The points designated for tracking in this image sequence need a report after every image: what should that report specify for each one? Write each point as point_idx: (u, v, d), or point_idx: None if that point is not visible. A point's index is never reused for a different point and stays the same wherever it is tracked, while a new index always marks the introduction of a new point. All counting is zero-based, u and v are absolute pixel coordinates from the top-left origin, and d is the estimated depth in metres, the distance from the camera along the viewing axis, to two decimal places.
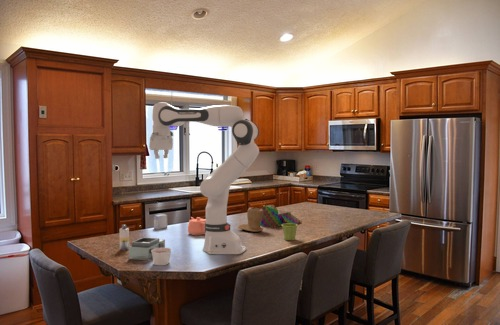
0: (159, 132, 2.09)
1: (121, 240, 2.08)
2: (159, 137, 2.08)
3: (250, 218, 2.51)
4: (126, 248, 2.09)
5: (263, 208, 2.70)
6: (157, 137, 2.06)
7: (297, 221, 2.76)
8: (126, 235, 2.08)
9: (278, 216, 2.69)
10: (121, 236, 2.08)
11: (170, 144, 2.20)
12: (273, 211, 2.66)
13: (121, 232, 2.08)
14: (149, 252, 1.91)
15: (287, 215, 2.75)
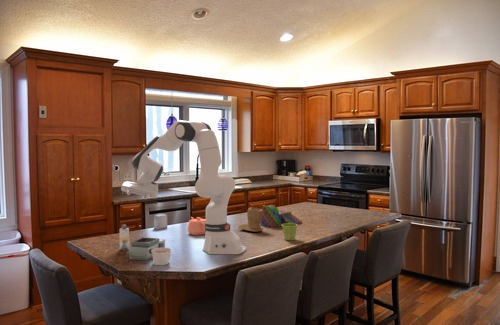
0: None
1: (121, 240, 2.08)
2: (132, 182, 2.26)
3: (250, 218, 2.51)
4: (126, 248, 2.09)
5: (264, 208, 2.70)
6: (128, 181, 2.26)
7: (298, 221, 2.76)
8: (126, 235, 2.08)
9: (279, 216, 2.69)
10: (121, 236, 2.08)
11: (153, 190, 2.24)
12: (273, 211, 2.66)
13: (121, 232, 2.08)
14: (149, 252, 1.91)
15: (288, 215, 2.75)
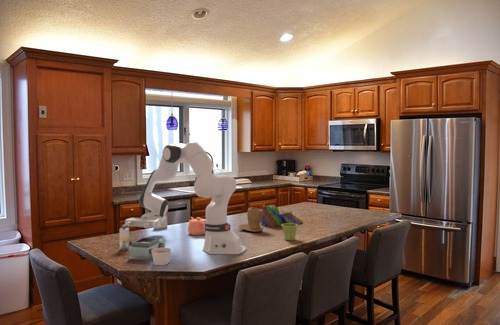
0: None
1: (121, 240, 2.08)
2: (137, 218, 2.34)
3: (250, 218, 2.51)
4: (126, 248, 2.09)
5: (264, 208, 2.69)
6: None
7: (298, 221, 2.76)
8: (126, 235, 2.08)
9: (280, 216, 2.69)
10: (121, 236, 2.08)
11: (154, 220, 2.27)
12: (274, 211, 2.65)
13: (121, 232, 2.08)
14: (149, 252, 1.91)
15: (288, 215, 2.74)
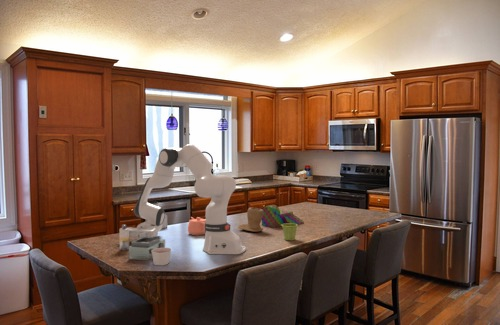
0: None
1: (121, 240, 2.08)
2: None
3: (250, 218, 2.51)
4: (126, 248, 2.09)
5: (265, 208, 2.69)
6: None
7: (299, 221, 2.75)
8: (126, 235, 2.08)
9: (280, 216, 2.69)
10: (121, 236, 2.08)
11: (150, 229, 2.22)
12: (274, 211, 2.65)
13: (121, 232, 2.08)
14: (149, 252, 1.91)
15: (289, 215, 2.74)
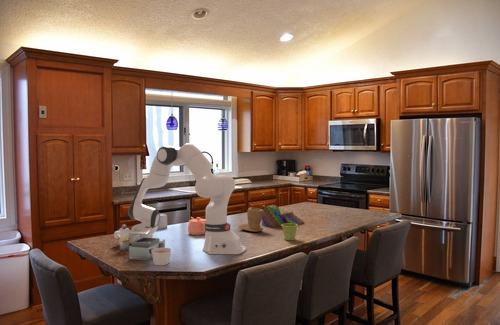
0: None
1: (121, 240, 2.08)
2: None
3: (250, 218, 2.51)
4: (126, 248, 2.09)
5: (265, 208, 2.69)
6: None
7: (300, 221, 2.75)
8: (126, 235, 2.08)
9: (281, 216, 2.69)
10: (121, 236, 2.08)
11: (144, 232, 2.16)
12: (275, 211, 2.65)
13: (121, 232, 2.08)
14: (149, 252, 1.91)
15: (290, 215, 2.74)
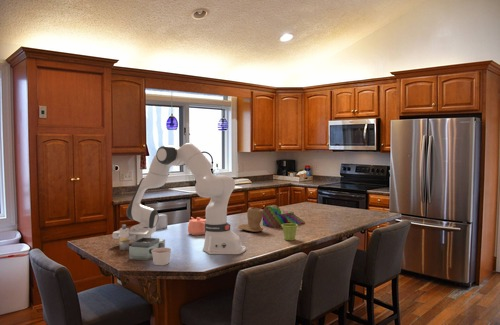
0: None
1: (121, 240, 2.08)
2: None
3: (250, 218, 2.51)
4: (126, 248, 2.09)
5: (266, 208, 2.69)
6: None
7: (300, 221, 2.75)
8: (126, 235, 2.08)
9: (281, 216, 2.68)
10: (121, 236, 2.08)
11: (143, 232, 2.15)
12: (275, 211, 2.65)
13: (121, 232, 2.08)
14: (149, 252, 1.91)
15: (290, 215, 2.74)
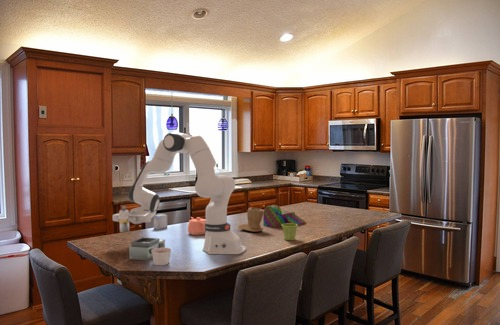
0: None
1: (121, 222, 2.07)
2: None
3: (250, 218, 2.51)
4: (126, 230, 2.08)
5: (267, 208, 2.69)
6: None
7: (301, 221, 2.75)
8: (126, 217, 2.08)
9: (282, 216, 2.68)
10: (121, 218, 2.07)
11: (143, 214, 2.14)
12: (276, 211, 2.65)
13: (121, 214, 2.07)
14: (149, 252, 1.91)
15: (291, 215, 2.74)
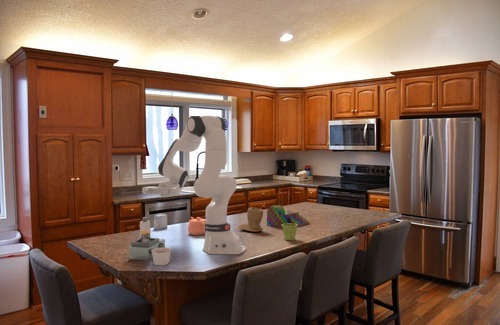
0: None
1: (142, 233, 1.95)
2: (154, 186, 2.25)
3: (250, 218, 2.51)
4: (147, 242, 1.95)
5: (270, 208, 2.69)
6: (151, 186, 2.25)
7: (305, 222, 2.73)
8: (147, 228, 1.95)
9: (286, 216, 2.67)
10: (142, 229, 1.95)
11: (172, 187, 2.18)
12: (279, 211, 2.64)
13: (142, 225, 1.95)
14: (149, 252, 1.91)
15: (295, 216, 2.72)
